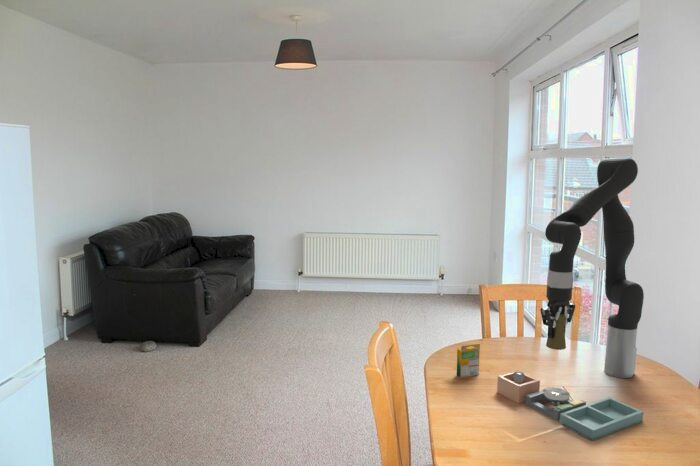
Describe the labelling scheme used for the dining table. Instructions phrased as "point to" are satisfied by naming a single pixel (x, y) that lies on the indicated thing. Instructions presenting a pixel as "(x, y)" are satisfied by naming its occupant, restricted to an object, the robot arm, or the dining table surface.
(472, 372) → the crayon box
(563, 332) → the olive gourd
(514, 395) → the cup
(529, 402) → the checker cradle
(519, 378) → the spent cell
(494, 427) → the dining table surface
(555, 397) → the silver domed disc
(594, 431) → the teal divided tray
